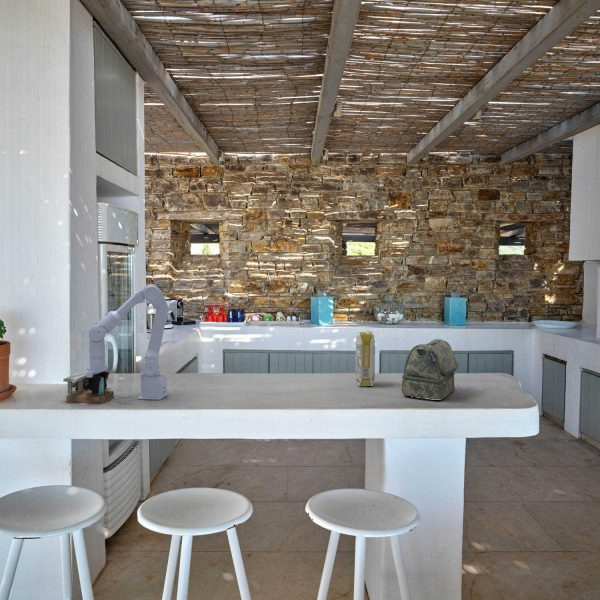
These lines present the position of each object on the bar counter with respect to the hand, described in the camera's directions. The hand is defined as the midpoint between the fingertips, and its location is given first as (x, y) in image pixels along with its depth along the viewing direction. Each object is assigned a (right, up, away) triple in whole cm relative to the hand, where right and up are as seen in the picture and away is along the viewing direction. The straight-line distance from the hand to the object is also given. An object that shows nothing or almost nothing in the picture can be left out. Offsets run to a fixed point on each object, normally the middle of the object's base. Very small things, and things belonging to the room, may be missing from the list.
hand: (98, 392), depth 211 cm
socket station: (-3, -3, 0) cm, 4 cm away
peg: (0, -2, 0) cm, 2 cm away
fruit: (-9, -2, +16) cm, 18 cm away
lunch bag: (+130, -4, +15) cm, 131 cm away
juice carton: (+105, -2, +30) cm, 110 cm away
